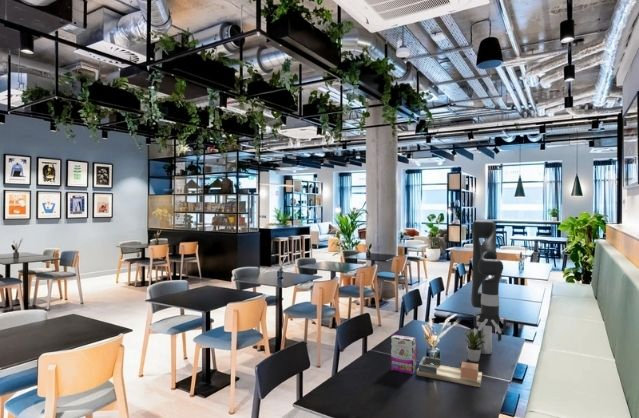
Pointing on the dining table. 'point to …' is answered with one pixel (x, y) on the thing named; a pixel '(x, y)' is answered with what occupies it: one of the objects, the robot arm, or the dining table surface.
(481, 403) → the dining table surface
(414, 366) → the candy bar box
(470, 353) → the house plant
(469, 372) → the carton
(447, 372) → the board
